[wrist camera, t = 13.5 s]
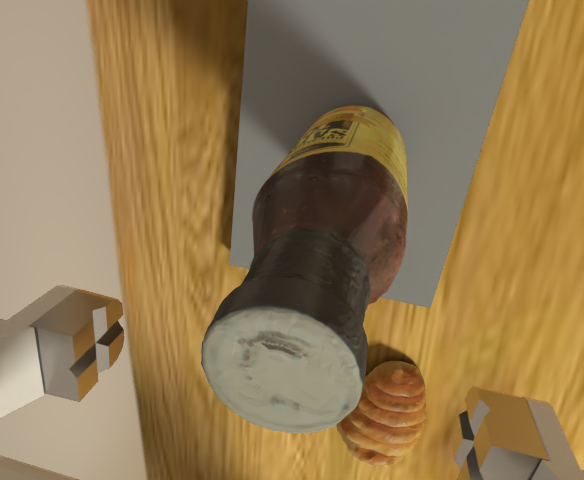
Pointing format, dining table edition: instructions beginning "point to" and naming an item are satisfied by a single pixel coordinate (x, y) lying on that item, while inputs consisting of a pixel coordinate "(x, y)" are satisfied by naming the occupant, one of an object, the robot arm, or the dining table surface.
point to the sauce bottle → (313, 276)
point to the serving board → (377, 102)
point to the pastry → (386, 414)
